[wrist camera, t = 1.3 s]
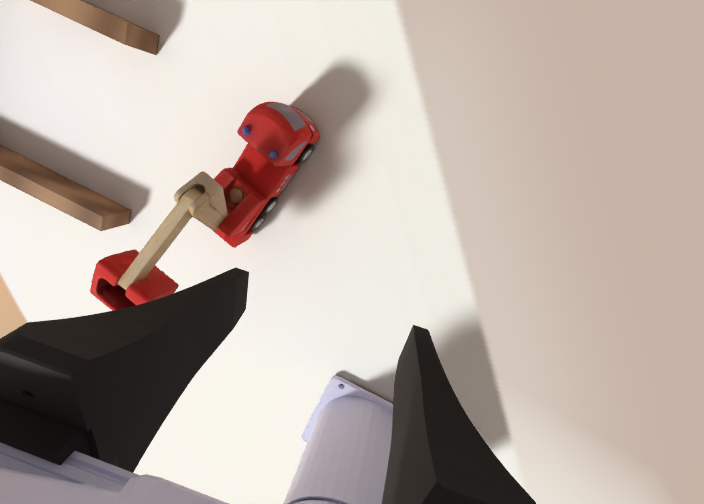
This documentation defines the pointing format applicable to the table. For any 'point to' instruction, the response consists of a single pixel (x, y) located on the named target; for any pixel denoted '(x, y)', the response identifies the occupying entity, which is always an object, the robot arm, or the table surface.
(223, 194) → the toy fire truck
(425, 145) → the table surface
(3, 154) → the bay
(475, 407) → the table surface
